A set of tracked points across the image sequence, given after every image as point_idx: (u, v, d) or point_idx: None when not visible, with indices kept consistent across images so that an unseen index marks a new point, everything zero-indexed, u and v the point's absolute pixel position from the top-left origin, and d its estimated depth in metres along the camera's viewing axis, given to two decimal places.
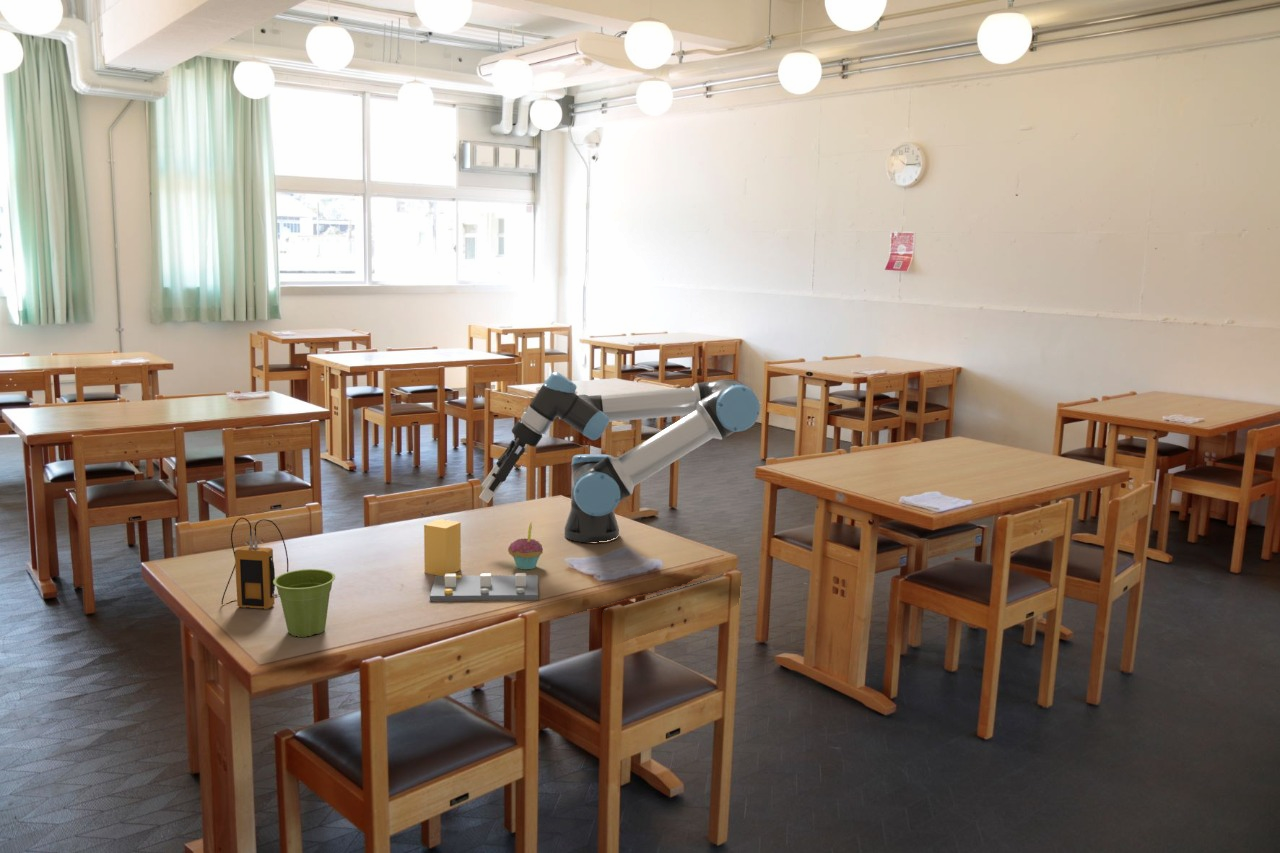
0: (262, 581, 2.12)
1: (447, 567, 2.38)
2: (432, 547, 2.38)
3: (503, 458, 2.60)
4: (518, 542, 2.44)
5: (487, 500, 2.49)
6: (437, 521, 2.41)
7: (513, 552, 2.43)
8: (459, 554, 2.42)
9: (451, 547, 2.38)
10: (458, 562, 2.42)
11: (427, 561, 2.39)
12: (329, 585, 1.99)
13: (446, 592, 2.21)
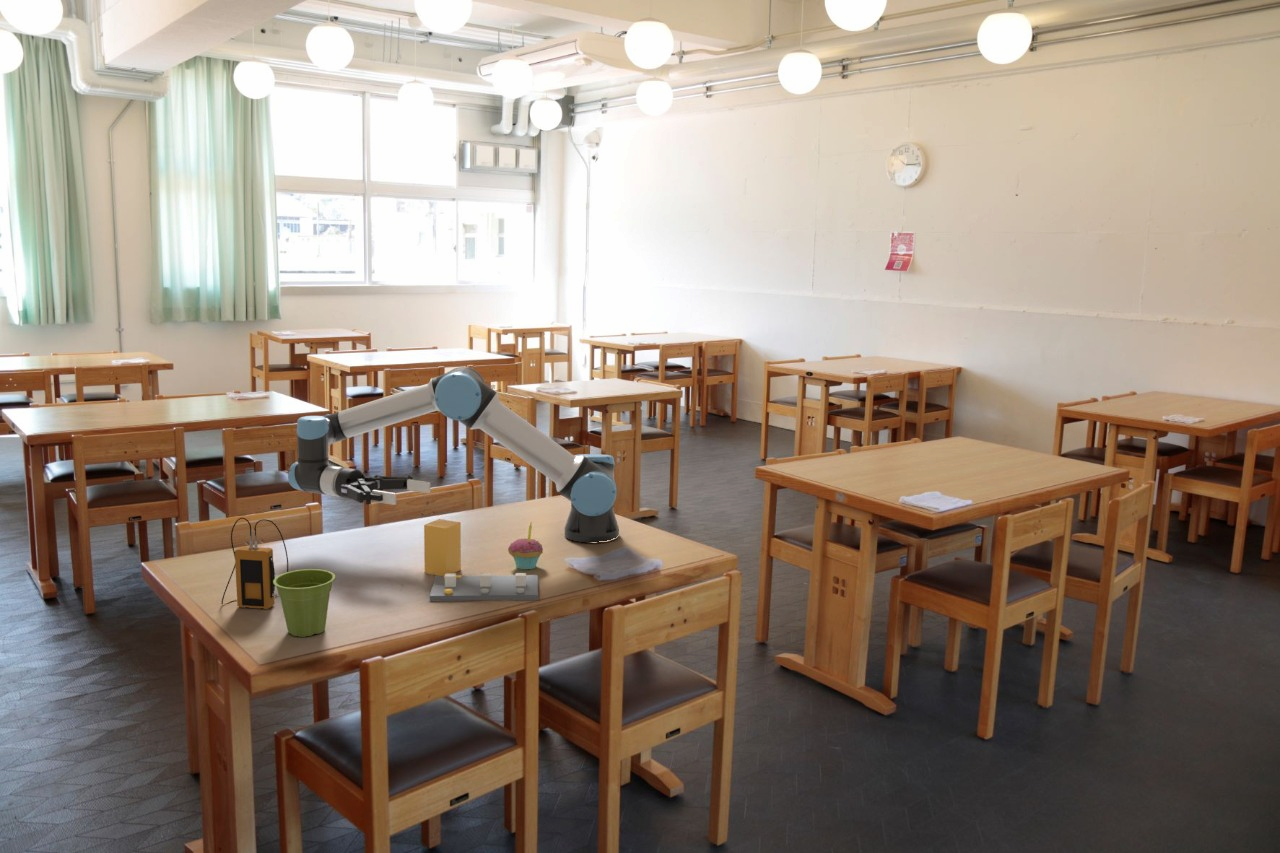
0: (262, 581, 2.12)
1: (447, 567, 2.38)
2: (432, 547, 2.38)
3: (393, 487, 2.50)
4: (518, 542, 2.44)
5: (392, 495, 2.35)
6: (437, 521, 2.41)
7: (513, 552, 2.43)
8: (459, 554, 2.42)
9: (451, 547, 2.38)
10: (458, 562, 2.42)
11: (427, 561, 2.39)
12: (329, 585, 1.99)
13: (446, 592, 2.21)
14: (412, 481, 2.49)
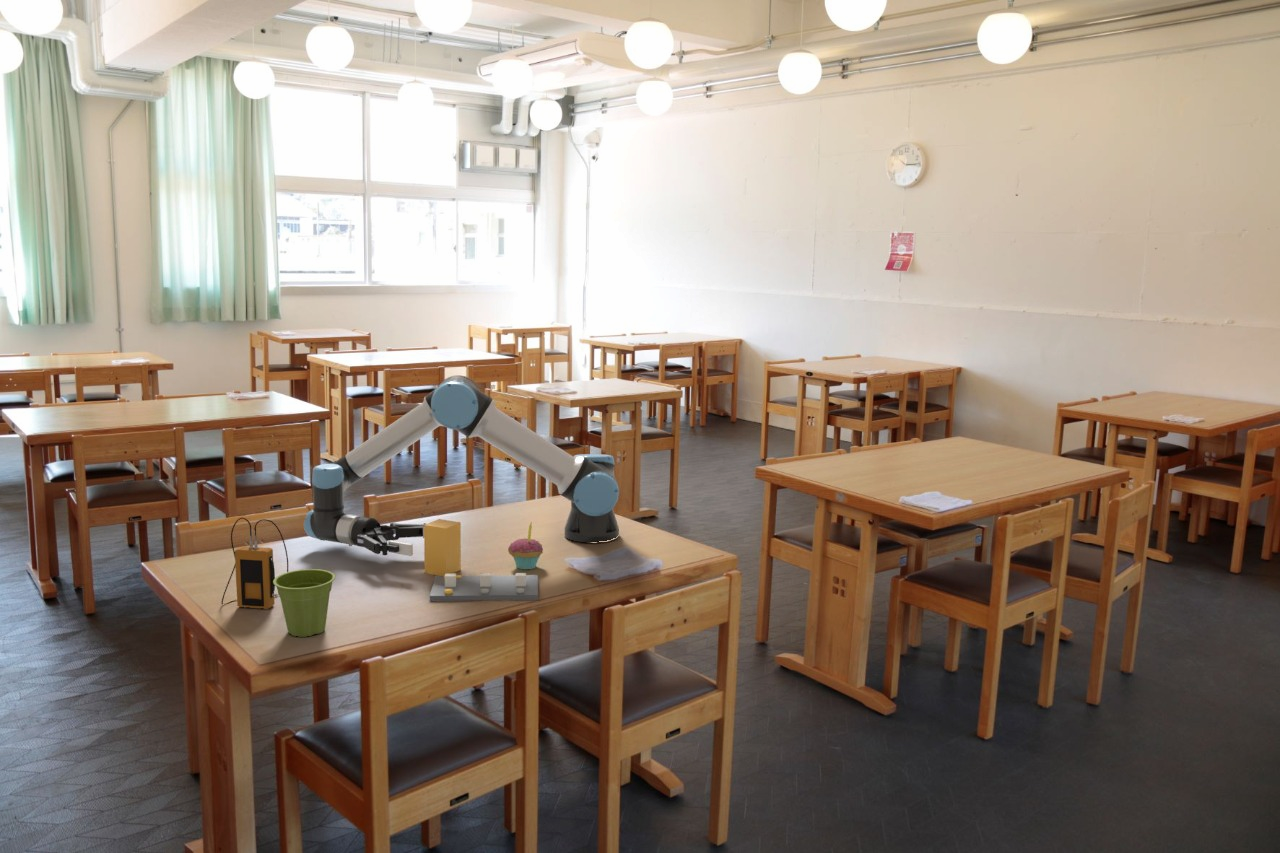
0: (262, 581, 2.12)
1: (447, 567, 2.38)
2: (432, 547, 2.38)
3: (409, 535, 2.50)
4: (518, 542, 2.44)
5: (408, 546, 2.35)
6: (437, 521, 2.41)
7: (513, 552, 2.43)
8: (459, 554, 2.42)
9: (451, 547, 2.38)
10: (458, 562, 2.42)
11: (427, 561, 2.39)
12: (329, 585, 1.99)
13: (446, 592, 2.21)
14: None
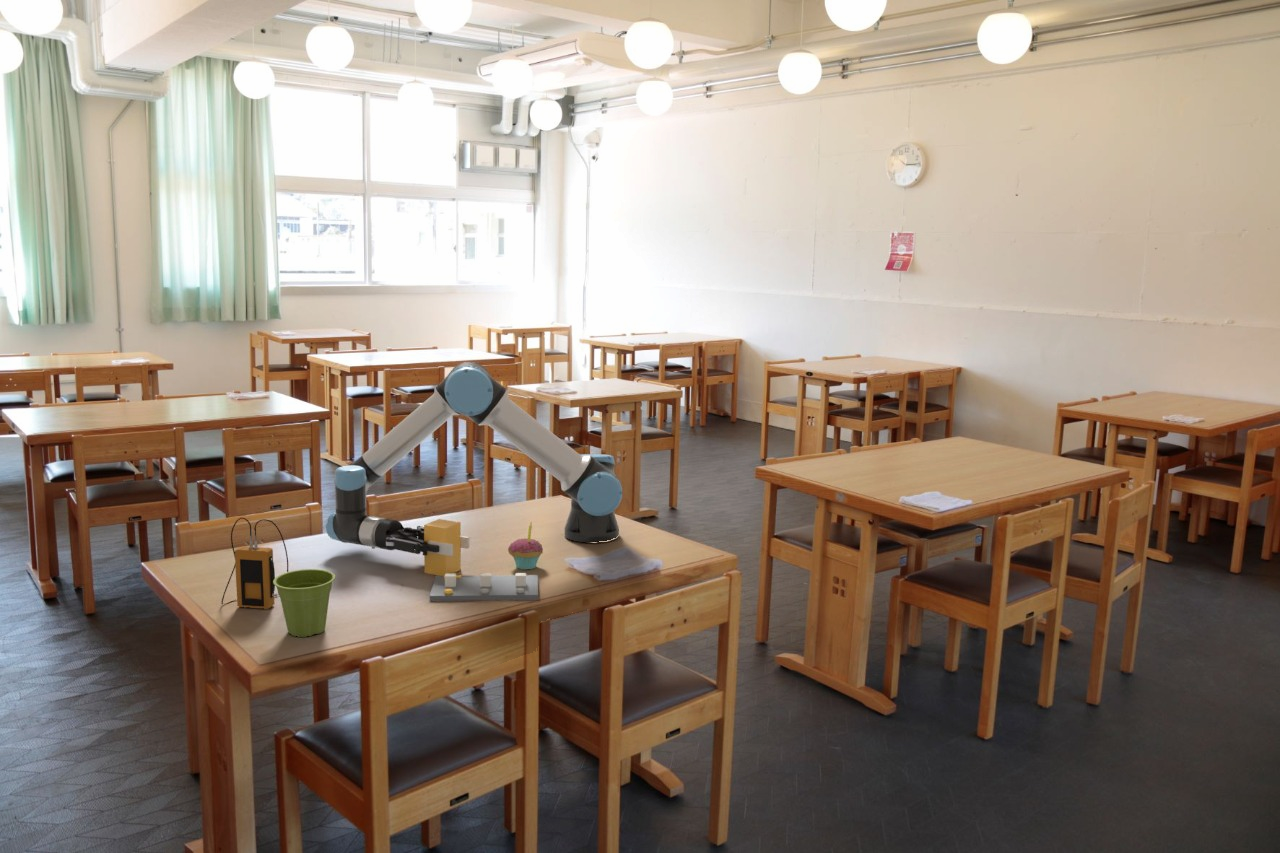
0: (262, 581, 2.12)
1: (447, 567, 2.38)
2: None
3: None
4: (518, 542, 2.44)
5: (449, 546, 2.35)
6: (437, 521, 2.41)
7: (513, 552, 2.43)
8: (459, 554, 2.42)
9: None
10: (458, 562, 2.42)
11: (427, 561, 2.39)
12: (329, 585, 1.99)
13: (446, 592, 2.21)
14: None
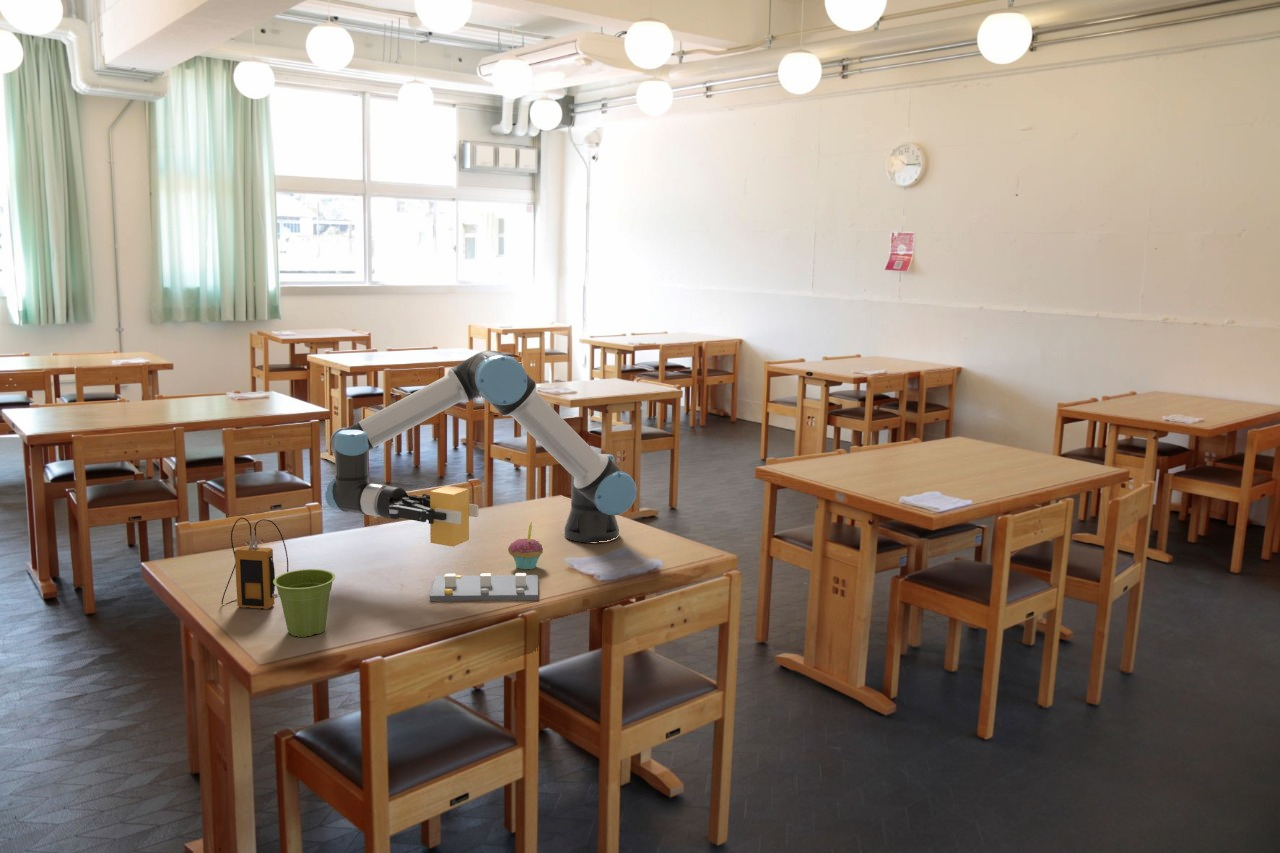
0: (262, 581, 2.12)
1: (455, 537, 2.22)
2: None
3: None
4: (518, 542, 2.44)
5: (457, 514, 2.19)
6: (444, 488, 2.26)
7: (513, 552, 2.43)
8: (467, 523, 2.26)
9: None
10: (466, 532, 2.26)
11: (433, 530, 2.24)
12: (329, 585, 1.99)
13: (446, 592, 2.21)
14: None
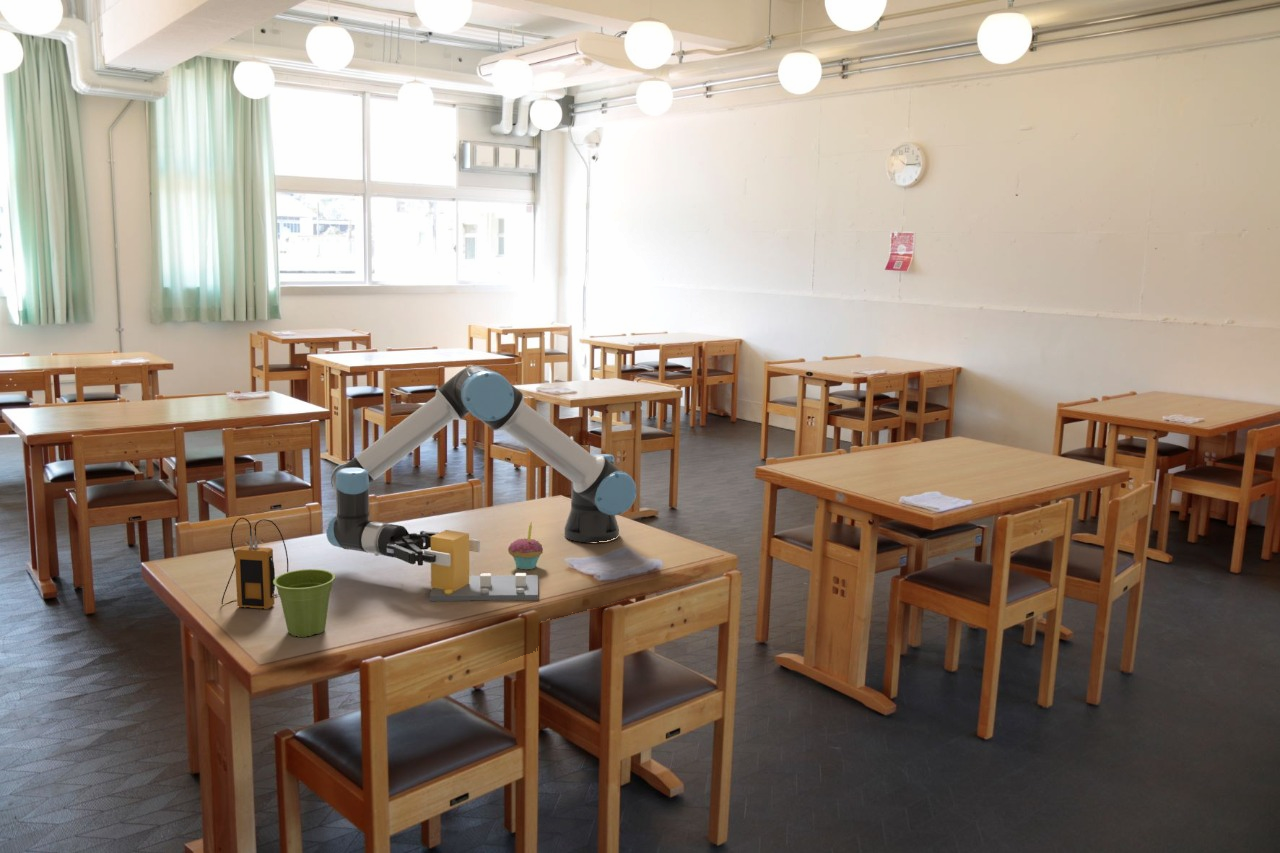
0: (262, 581, 2.12)
1: (455, 581, 2.24)
2: None
3: None
4: (518, 542, 2.44)
5: (446, 556, 2.19)
6: (444, 532, 2.27)
7: (513, 552, 2.43)
8: (468, 567, 2.28)
9: (459, 560, 2.25)
10: (466, 576, 2.28)
11: (434, 575, 2.25)
12: (329, 585, 1.99)
13: (446, 592, 2.21)
14: None
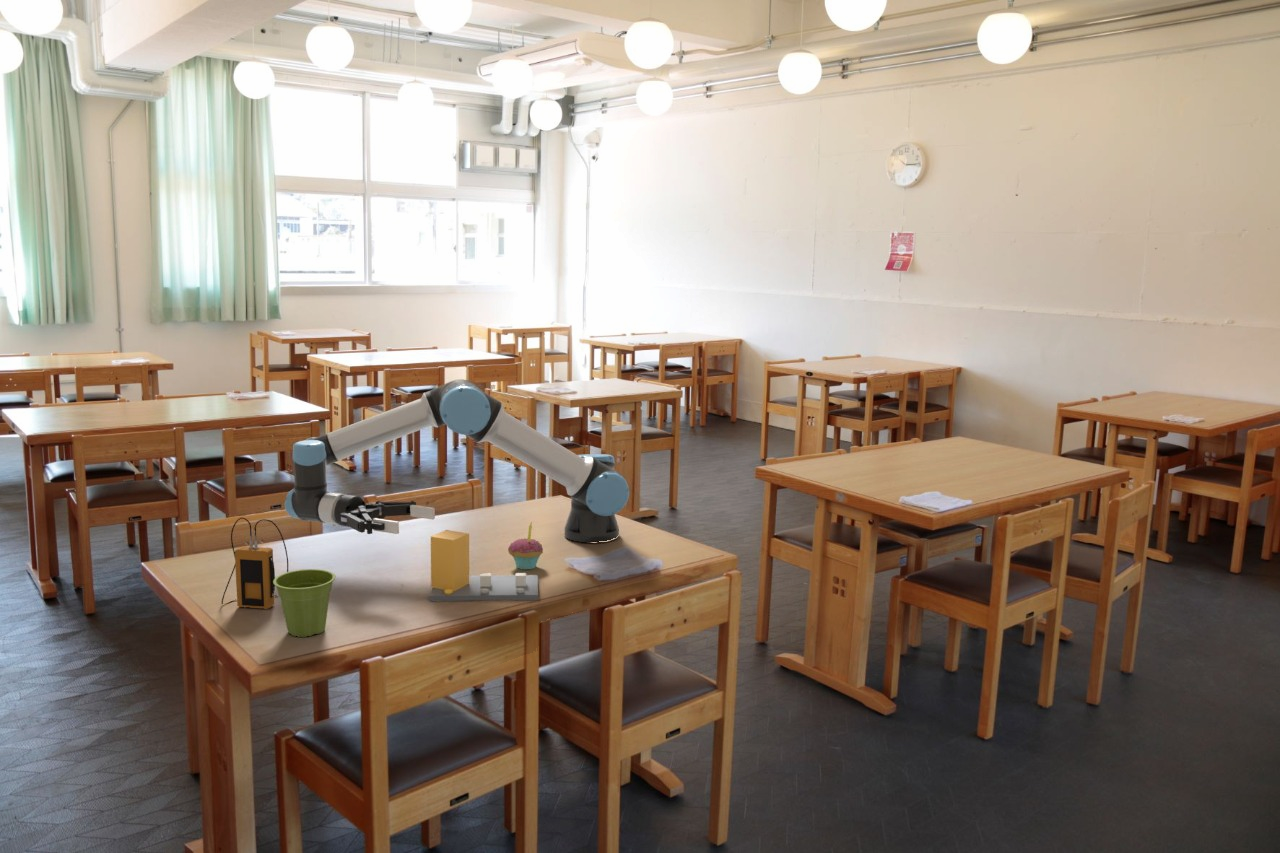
0: (262, 581, 2.12)
1: (455, 581, 2.24)
2: (439, 560, 2.24)
3: (396, 514, 2.37)
4: (518, 542, 2.44)
5: (394, 524, 2.22)
6: (444, 532, 2.27)
7: (513, 552, 2.43)
8: (468, 567, 2.28)
9: (459, 560, 2.25)
10: (466, 576, 2.28)
11: (434, 575, 2.25)
12: (329, 585, 1.99)
13: (446, 592, 2.21)
14: (415, 507, 2.36)
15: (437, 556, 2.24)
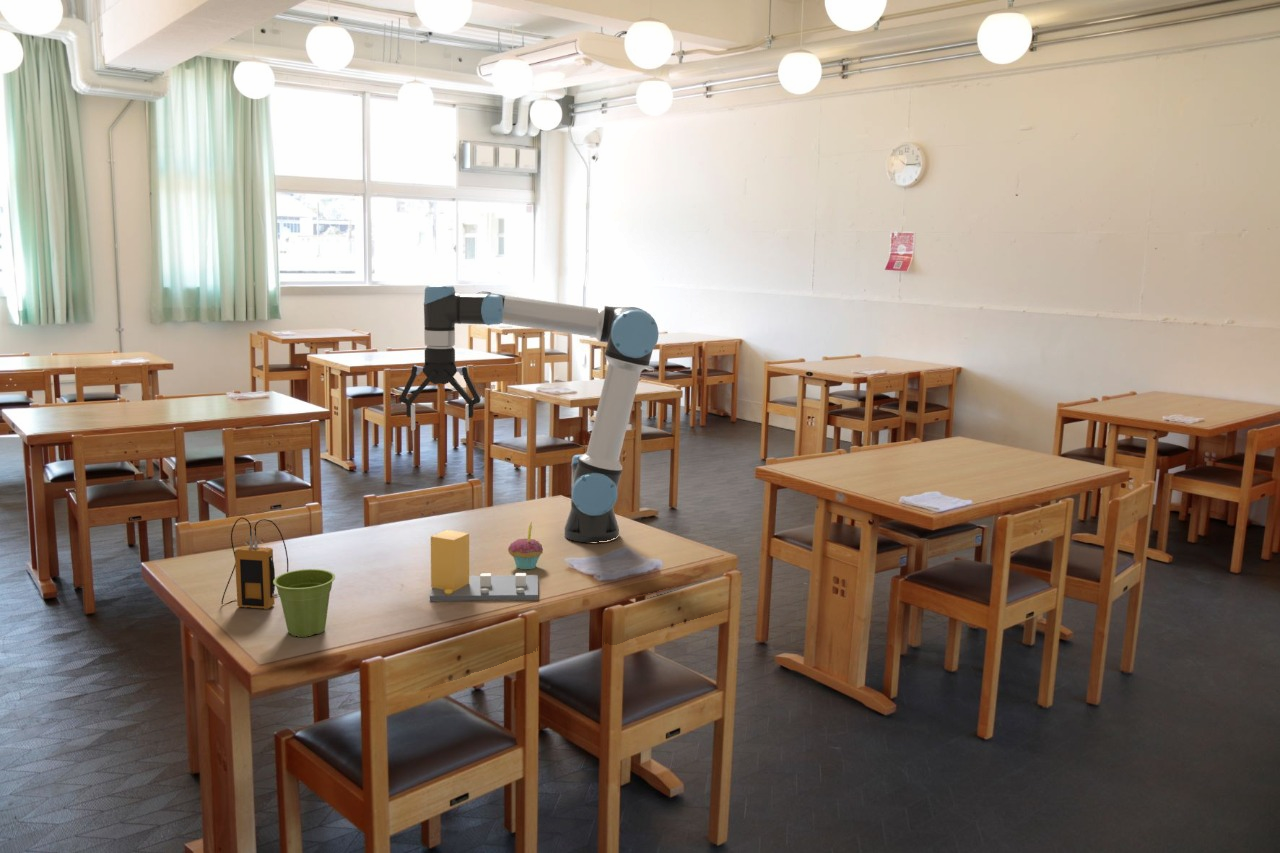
0: (262, 581, 2.12)
1: (455, 581, 2.24)
2: (439, 560, 2.24)
3: None
4: (518, 542, 2.44)
5: (411, 428, 2.52)
6: (444, 532, 2.27)
7: (513, 552, 2.43)
8: (468, 567, 2.28)
9: (459, 560, 2.25)
10: (466, 576, 2.28)
11: (434, 575, 2.25)
12: (329, 585, 1.99)
13: (446, 592, 2.21)
14: None
15: (437, 556, 2.24)
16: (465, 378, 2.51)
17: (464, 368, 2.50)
